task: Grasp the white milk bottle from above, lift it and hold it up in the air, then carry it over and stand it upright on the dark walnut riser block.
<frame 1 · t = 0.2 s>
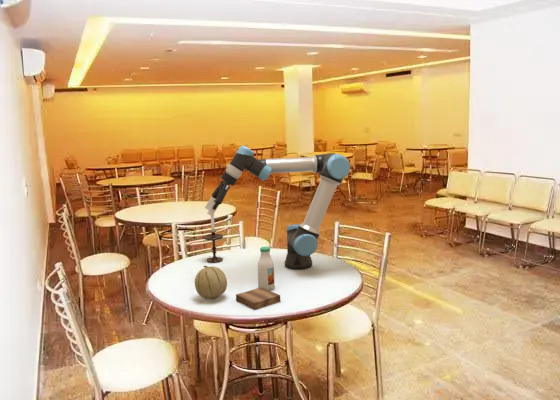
hand: (208, 211, 241), 36 cm above the table, tool tilted 35°, fingers open, 13 cm apart
candlestick: (214, 261, 283), on the table
cantaloupe: (211, 298, 224), on the table
walnut riser: (258, 301, 219), on the table
milk bottle: (266, 288, 235), on the table
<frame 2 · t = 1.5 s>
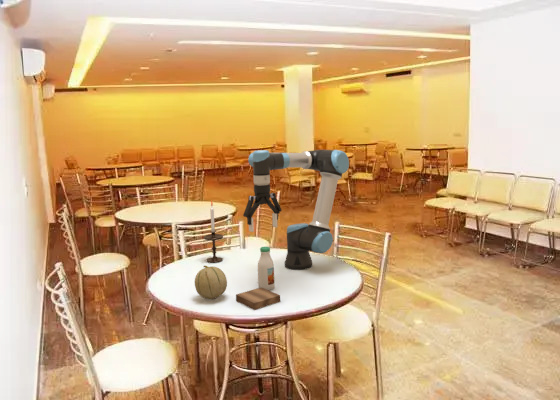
hand: (263, 229, 230), 29 cm above the table, tool pointing down, fingers open, 13 cm apart
nothing on the table moved.
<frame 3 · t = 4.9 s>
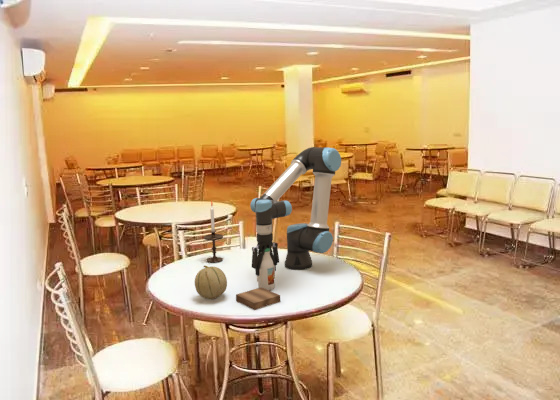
hand: (266, 279, 234), 4 cm above the table, tool pointing down, fingers closed on milk bottle, 7 cm apart
milk bottle: (266, 288, 235), on the table, touching gripper
everything else where it was.
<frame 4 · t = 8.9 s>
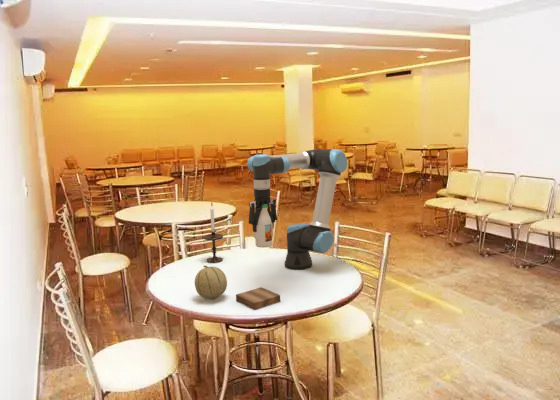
hand: (263, 237, 229), 25 cm above the table, tool pointing down, fingers closed on milk bottle, 7 cm apart
milk bottle: (263, 246, 230), point 21 cm above the table, touching gripper
everything else where it was.
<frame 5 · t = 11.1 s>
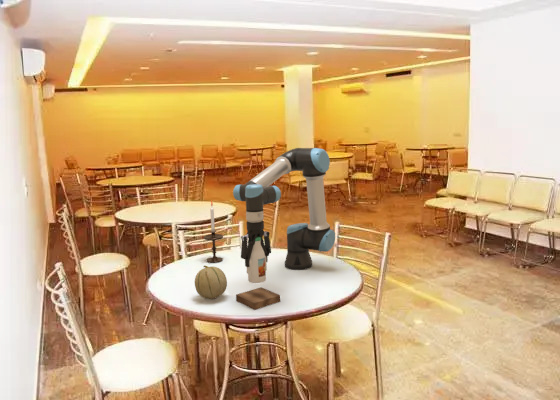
hand: (256, 271, 216), 14 cm above the table, tool pointing down, fingers closed on milk bottle, 7 cm apart
milk bottle: (257, 281, 217), point 9 cm above the table, touching gripper
everything else where it was.
when the fingers open (9 cm above the table, at t = 12.9 s): milk bottle drops 1 cm, resting on walnut riser.
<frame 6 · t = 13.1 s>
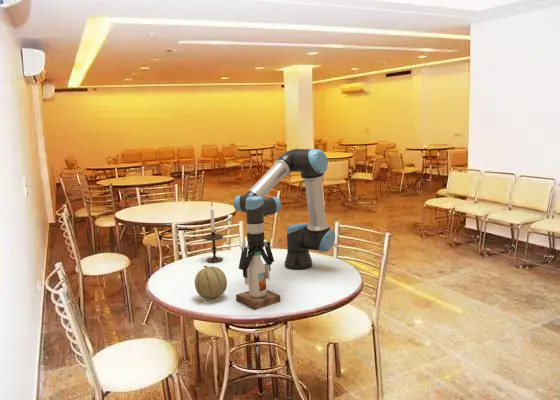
hand: (257, 281, 217), 9 cm above the table, tool pointing down, fingers open, 10 cm apart
milk bottle: (258, 295, 218), point 3 cm above the table, touching walnut riser
everything else where it was.
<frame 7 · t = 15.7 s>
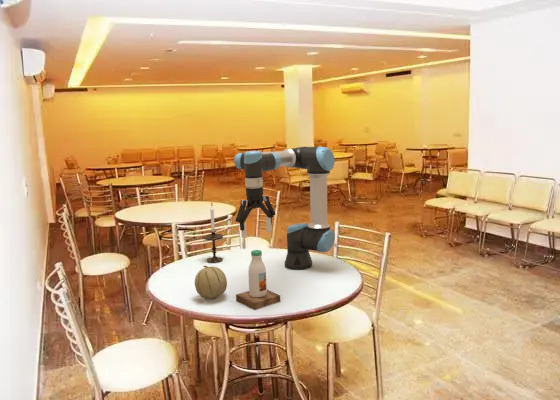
hand: (256, 234, 218), 29 cm above the table, tool pointing down, fingers open, 13 cm apart
nothing on the table moved.
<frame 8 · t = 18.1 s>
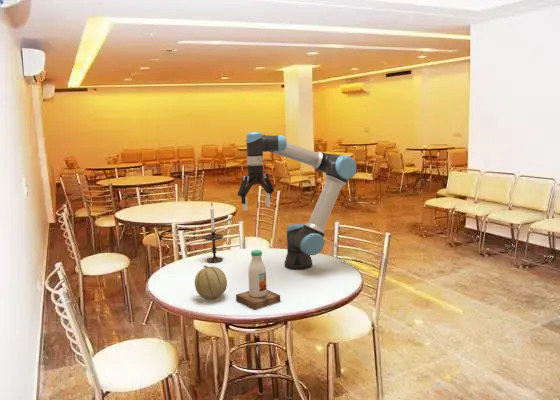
hand: (256, 208, 240), 37 cm above the table, tool pointing down, fingers open, 13 cm apart
nothing on the table moved.
at the end: milk bottle inside the target area on the walnut riser (0.1 cm from its centre), point 2.8 cm above the walnut riser's base; milk bottle tilted 0°; the gripper is holding nothing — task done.
